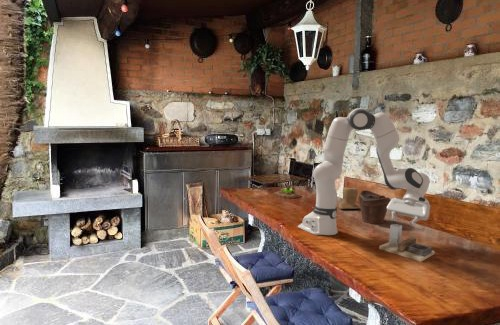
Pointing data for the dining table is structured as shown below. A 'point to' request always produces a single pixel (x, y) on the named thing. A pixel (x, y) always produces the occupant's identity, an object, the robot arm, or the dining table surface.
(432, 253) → the beige board with divider
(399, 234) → the grey square block
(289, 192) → the plant
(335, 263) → the dining table surface
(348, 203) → the tan boot
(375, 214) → the brown tapered bucket
